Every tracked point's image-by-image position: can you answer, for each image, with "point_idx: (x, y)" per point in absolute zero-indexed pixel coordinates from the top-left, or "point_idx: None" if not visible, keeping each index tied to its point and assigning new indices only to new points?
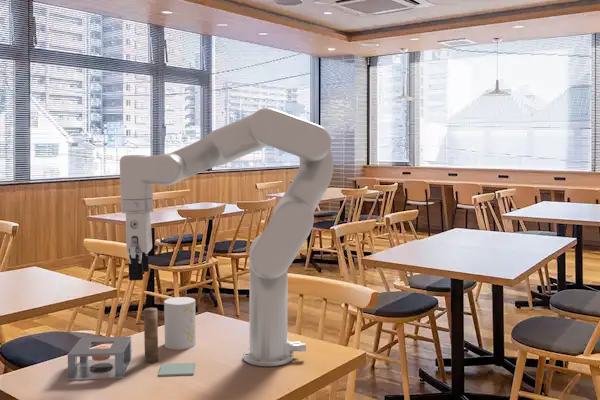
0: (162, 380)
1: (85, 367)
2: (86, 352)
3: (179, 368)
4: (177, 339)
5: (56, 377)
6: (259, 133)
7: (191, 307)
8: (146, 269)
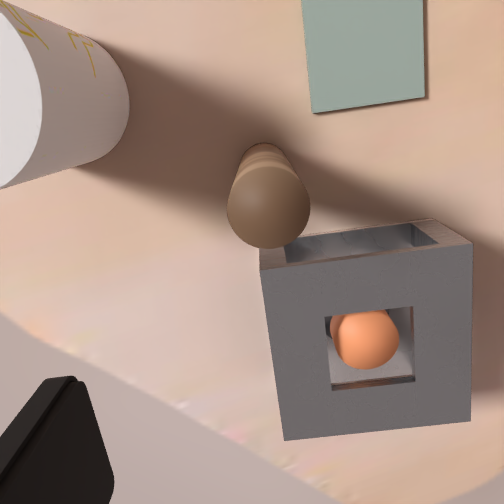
0: (463, 70)
1: None
2: (455, 370)
3: (366, 26)
4: (115, 95)
5: None
6: None
7: None
8: (78, 405)
